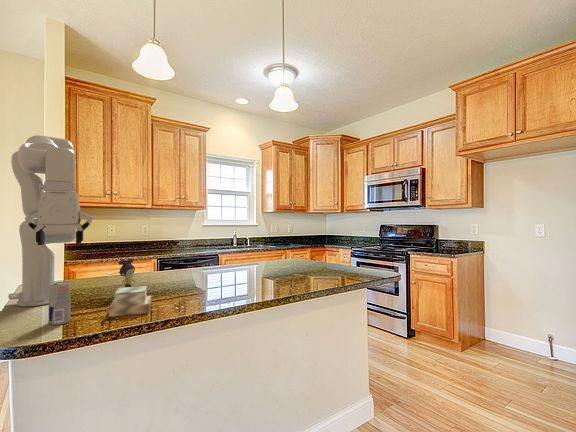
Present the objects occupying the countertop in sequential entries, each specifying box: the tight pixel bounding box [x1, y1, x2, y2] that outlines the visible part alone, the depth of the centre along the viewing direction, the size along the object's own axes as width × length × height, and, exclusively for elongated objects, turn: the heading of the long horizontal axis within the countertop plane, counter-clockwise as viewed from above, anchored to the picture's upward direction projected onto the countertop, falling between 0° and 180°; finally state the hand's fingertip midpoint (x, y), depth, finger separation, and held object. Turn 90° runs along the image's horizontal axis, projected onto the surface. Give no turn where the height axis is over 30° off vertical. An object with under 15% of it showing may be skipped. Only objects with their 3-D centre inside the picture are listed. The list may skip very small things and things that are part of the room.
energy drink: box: [48, 281, 71, 326], centre depth 95 cm, size 5×5×12 cm
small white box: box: [108, 285, 152, 317], centre depth 109 cm, size 12×12×7 cm
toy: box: [118, 258, 137, 287], centre depth 129 cm, size 8×5×15 cm, turn 168°
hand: (60, 244), depth 95 cm, fingers open, 9 cm apart
